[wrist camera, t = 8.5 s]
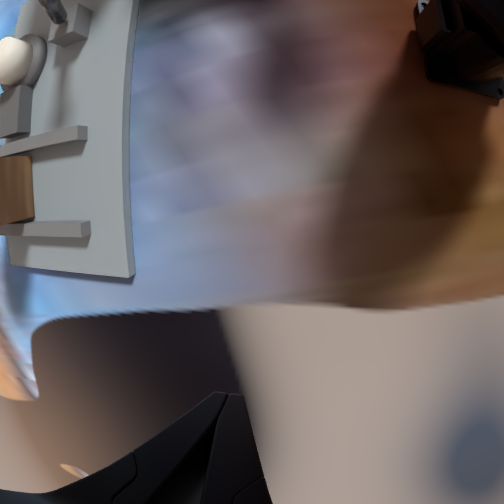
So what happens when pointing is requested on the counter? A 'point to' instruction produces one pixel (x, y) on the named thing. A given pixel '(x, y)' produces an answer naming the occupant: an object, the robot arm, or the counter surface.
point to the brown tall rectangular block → (16, 189)
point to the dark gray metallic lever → (54, 10)
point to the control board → (71, 134)
